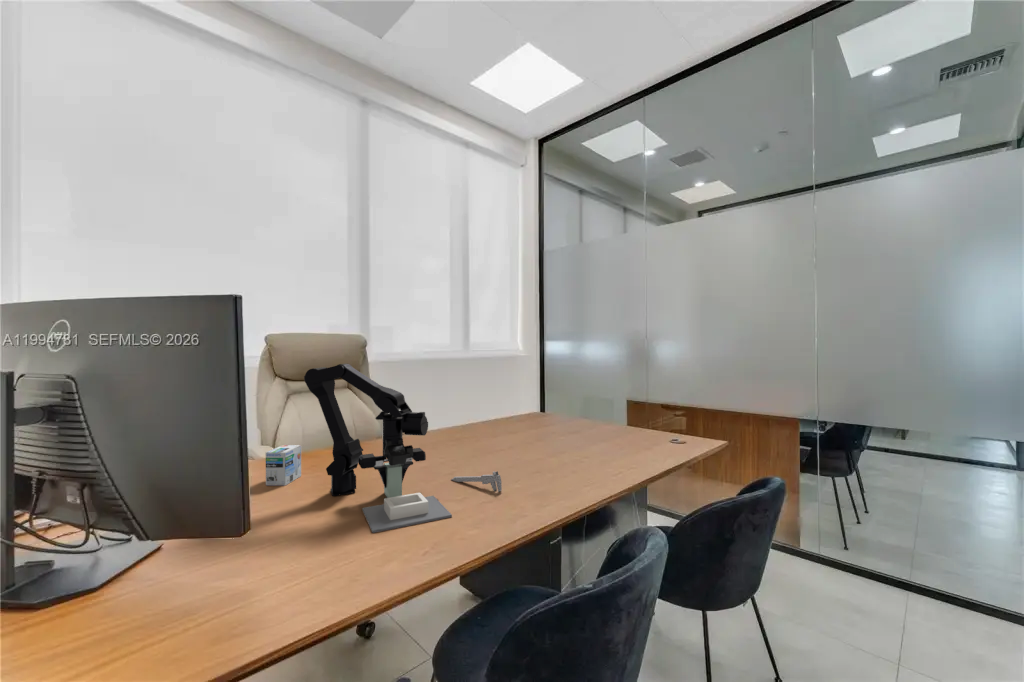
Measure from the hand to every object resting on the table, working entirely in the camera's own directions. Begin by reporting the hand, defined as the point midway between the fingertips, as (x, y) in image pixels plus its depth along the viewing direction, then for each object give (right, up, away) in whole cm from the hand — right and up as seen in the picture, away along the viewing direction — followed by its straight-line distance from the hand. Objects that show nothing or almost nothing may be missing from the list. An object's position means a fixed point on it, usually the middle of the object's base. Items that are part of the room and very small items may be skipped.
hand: (392, 486), depth 130 cm
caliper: (+24, -3, +8) cm, 25 cm away
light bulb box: (-40, -3, +14) cm, 43 cm away
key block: (0, -3, 0) cm, 2 cm away
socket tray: (+7, -3, -14) cm, 16 cm away
